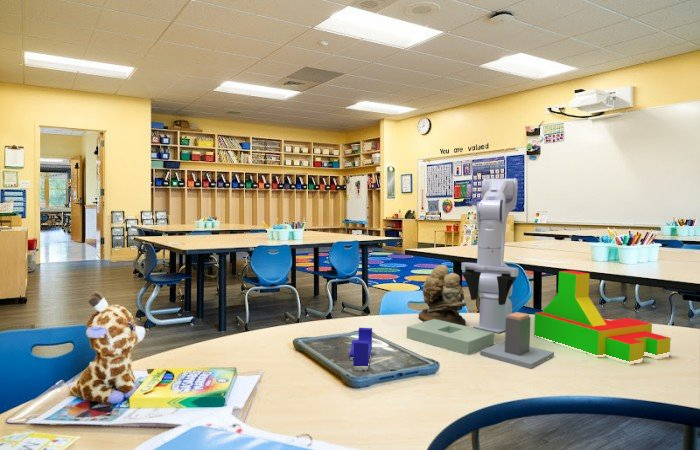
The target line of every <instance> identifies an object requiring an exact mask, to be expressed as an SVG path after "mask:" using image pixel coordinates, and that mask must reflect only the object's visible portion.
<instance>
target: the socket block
mask: <svg viewBox="0 0 700 450" xmlns="http://www.w3.org/2000/svg"><path fill="white" fill-rule="evenodd" d="M406 339H409V340H412V341H417V342H420V343H424V344H427V345H431V346H434V347H439V348H441V349H445V350H449V351H453V352H456V353H460V354H463V355H467V356H469V355H472V354H473V353H476V352H478V351H481V350H484V349H486V348H489V347H491V346H494V345H495V332H492V331H488V330H483V329H479V328H475V327H471V326H467V325H465V326H463V325H459V324H454V323H450V322H445V321H441V320H437V319H432V320H429V321H425V322H423V321H422V322H419V323H415V324H411V325H407V326H406Z"/></svg>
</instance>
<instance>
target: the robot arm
mask: <svg viewBox="0 0 700 450" xmlns="http://www.w3.org/2000/svg"><path fill="white" fill-rule="evenodd" d="M518 183H519V182H518V179H517V178H516V177H514V178H487V177H484V179H483V180H482V183H481V198H482V199H481V200H480V201H477V203H476V212H475V213H476V215H475V216H476V227H477V228H476V229H477V230H478V231H477V254H476V255H477V256H476V257H477V260H476V262H466V261H465V262H464V261H463V262H461V271H463V272H462V277H463V278H464V280H465V282H466V285H467V287H468V292H469V296H470V300H471V301H476V300H478V299H479V323H477V324H474V325H472V326H473V327H472V328H476V329H481V330H485V331H489V332H494V333H496V334H500V333H501V332H505V328H506V317H507V315H509V314H512V313H513V303H512V300H511V299H510V298H509V297H511V296H512V295H513V289H514V288H513V287H514V286H513V284H514V283H515V282H516V281H515V280H517V279H516V278H517V277H519V267H511V266H509V265H507V264H506V263H505V261H504V257H505V256H504V255H505V244H506V230H507V219H508V217H509V213H511V211H513V210H515V209H516V206H517V200H518V199H517V198H518V189H519V188H518V187H519V185H518Z"/></svg>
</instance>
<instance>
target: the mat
mask: <svg viewBox="0 0 700 450" xmlns="http://www.w3.org/2000/svg"><path fill="white" fill-rule="evenodd" d="M479 351H480V352H479V355H480V356H481V357H486V358H490V359H494V360H497V361H501V362H503V363H508V364H512V365H515V366H520V367H523V368H526V369H533V368H535V367H537V366H538V364H539V365H541V364H542V363H541V362H543V361H545V360H546V361H548V360H549V359H548V358H550V357H552V356H554V357H555V352H554V351H550V350H546V349H541V348H537V347H534V346H533V347H532V346H530V345H529V352H526V353H524V354H522V355H520V356H518V355H514V354H510V353H506V352H505V340H504V341H502V342H499V343H496V344H494V345H491V346H489V347H486V348H484V349H481V350H479ZM552 358H553V357H552ZM547 359H548V360H547ZM550 359H551V358H550ZM546 361H545V362H546ZM540 363H541V364H540ZM543 363H544V362H543ZM536 365H537V366H536Z"/></svg>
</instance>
